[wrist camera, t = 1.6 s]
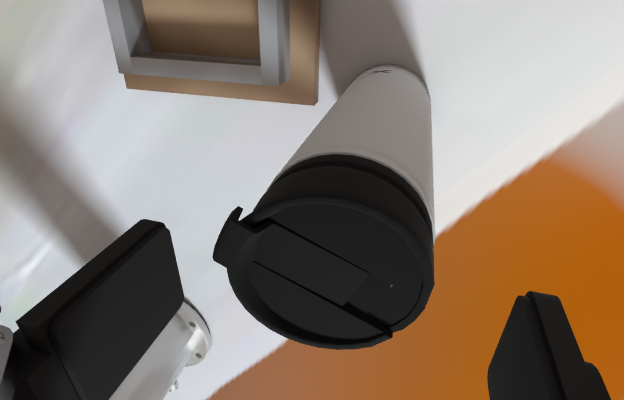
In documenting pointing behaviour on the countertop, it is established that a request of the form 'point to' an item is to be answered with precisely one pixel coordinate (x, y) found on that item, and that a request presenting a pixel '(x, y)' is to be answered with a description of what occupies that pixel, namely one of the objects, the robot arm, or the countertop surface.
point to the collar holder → (219, 47)
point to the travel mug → (344, 222)
